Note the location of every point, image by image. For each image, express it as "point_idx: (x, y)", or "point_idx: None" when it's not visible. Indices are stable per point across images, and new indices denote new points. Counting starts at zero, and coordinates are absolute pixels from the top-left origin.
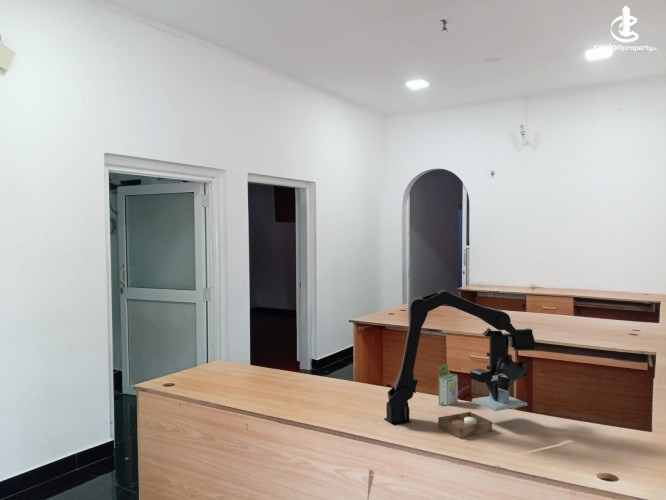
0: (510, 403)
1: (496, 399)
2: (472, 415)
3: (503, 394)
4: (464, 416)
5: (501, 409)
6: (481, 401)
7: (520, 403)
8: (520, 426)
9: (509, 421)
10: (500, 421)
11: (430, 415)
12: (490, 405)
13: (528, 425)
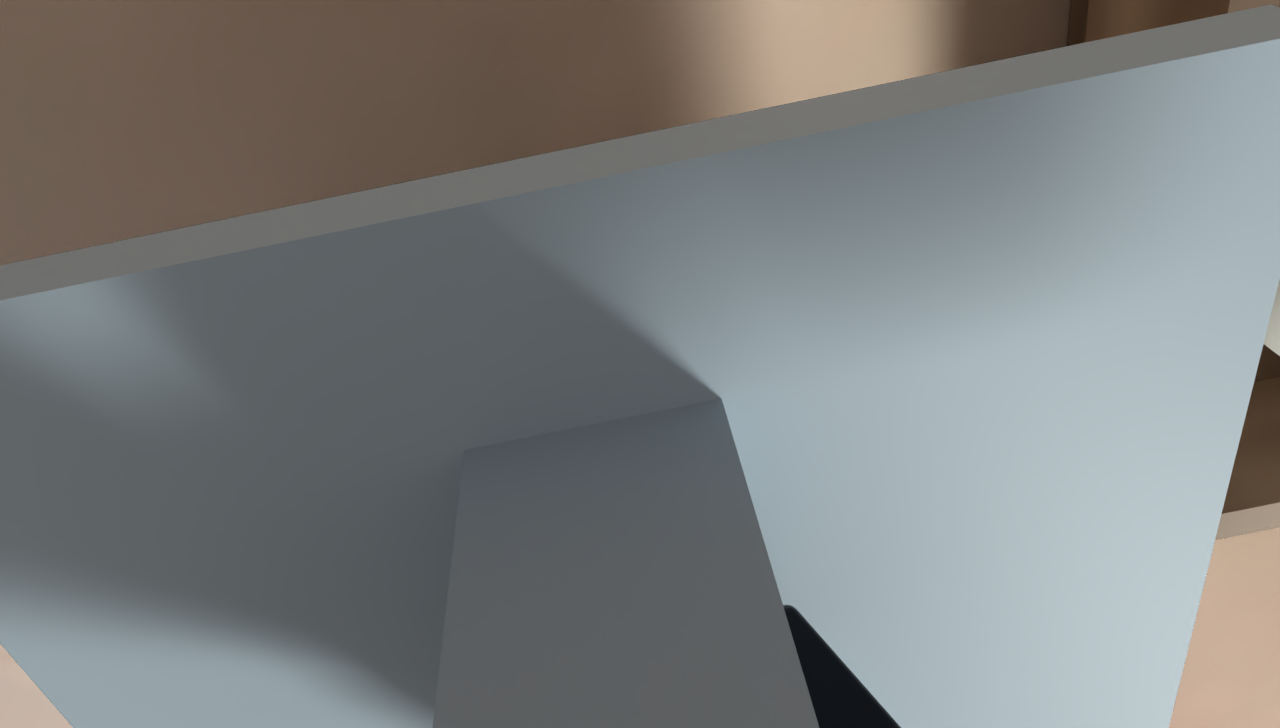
0: (444, 403)
1: (807, 635)
2: None
3: (778, 667)
4: (1246, 462)
5: (1013, 66)
6: (1111, 658)
7: (61, 341)
8: (280, 83)
9: None
10: None
11: (1258, 701)
12: (1190, 362)
13: (75, 92)
